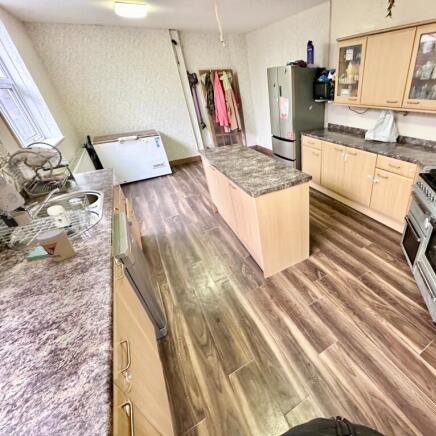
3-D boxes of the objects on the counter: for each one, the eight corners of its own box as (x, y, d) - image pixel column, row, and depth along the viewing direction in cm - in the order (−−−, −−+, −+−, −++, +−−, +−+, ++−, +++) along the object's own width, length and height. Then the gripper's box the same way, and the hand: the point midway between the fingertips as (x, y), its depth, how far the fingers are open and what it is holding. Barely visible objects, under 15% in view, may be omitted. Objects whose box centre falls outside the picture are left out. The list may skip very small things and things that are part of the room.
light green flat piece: (27, 260, 103) (23, 255, 102) (41, 247, 112) (38, 242, 110) (58, 254, 106) (54, 249, 104) (70, 242, 114) (66, 237, 113)
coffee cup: (45, 262, 101) (28, 239, 96) (65, 249, 110) (51, 227, 104) (63, 263, 100) (48, 240, 94) (83, 249, 108) (69, 228, 102)
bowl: (5, 229, 96) (-2, 220, 93) (17, 221, 101) (11, 212, 99) (26, 226, 97) (19, 217, 95) (37, 218, 103) (30, 209, 101)
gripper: (-15, 189, 84) (16, 231, 92) (19, 174, 98) (43, 211, 107) (-42, 192, 82) (-7, 234, 91) (-3, 177, 97) (24, 214, 105)
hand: (20, 222), depth 99 cm, fingers closed on bowl, 7 cm apart
